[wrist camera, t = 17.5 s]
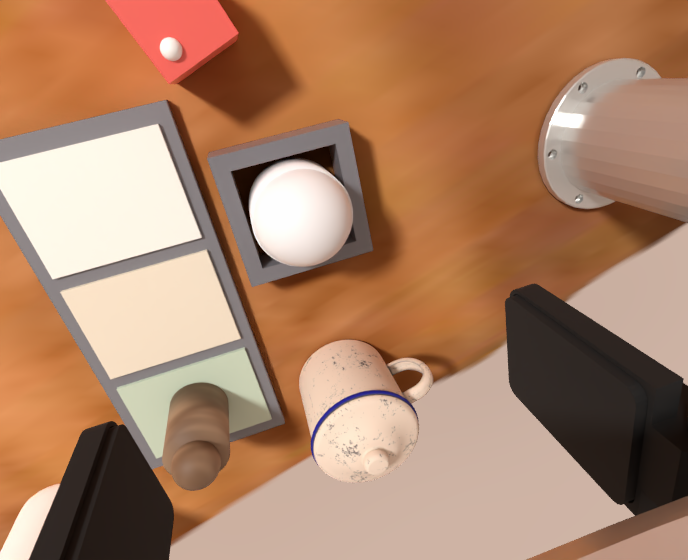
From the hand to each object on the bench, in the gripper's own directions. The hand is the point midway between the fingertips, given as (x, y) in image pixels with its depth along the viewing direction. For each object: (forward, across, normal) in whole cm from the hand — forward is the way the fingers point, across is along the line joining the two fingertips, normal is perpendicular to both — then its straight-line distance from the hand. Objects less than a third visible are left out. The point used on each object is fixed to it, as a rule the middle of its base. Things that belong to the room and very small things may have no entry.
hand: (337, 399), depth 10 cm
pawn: (+25, +11, +18) cm, 33 cm away
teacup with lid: (+26, -4, +20) cm, 33 cm away
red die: (+26, +2, -11) cm, 29 cm away
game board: (+26, +11, +8) cm, 30 cm away
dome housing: (+26, -2, +2) cm, 26 cm away
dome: (+25, -2, +2) cm, 25 cm away
